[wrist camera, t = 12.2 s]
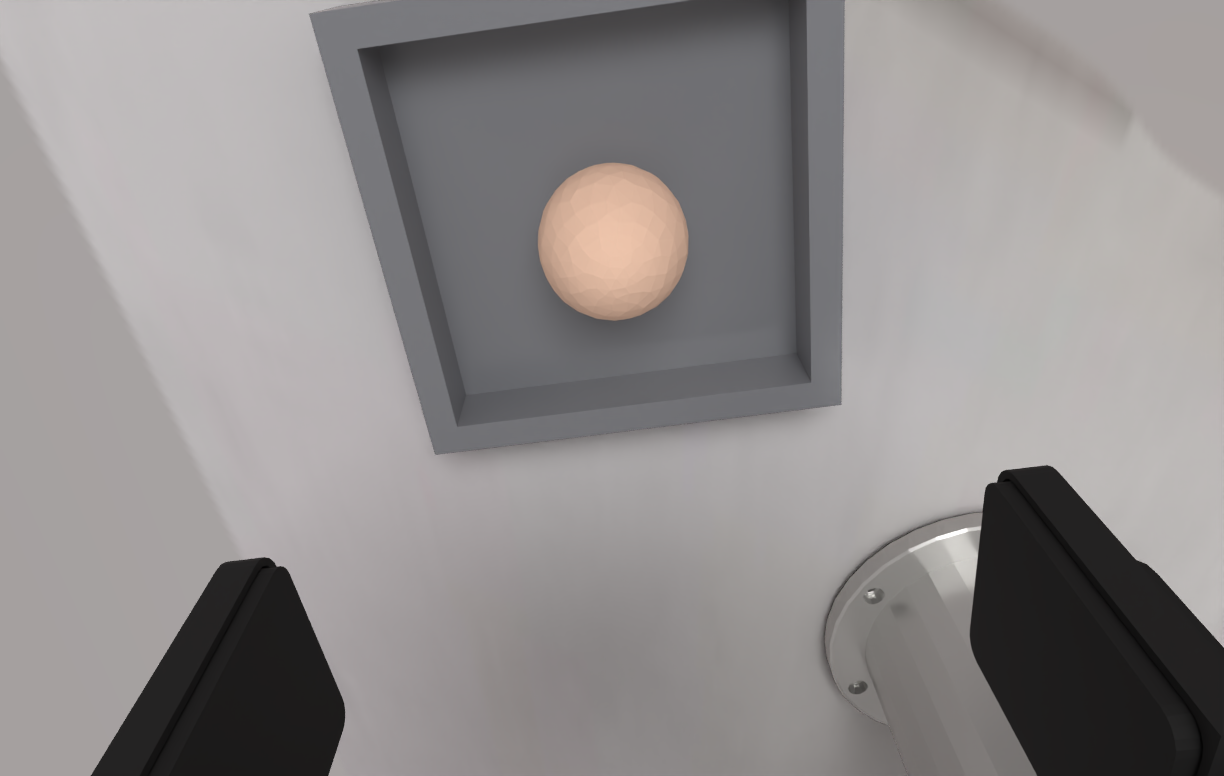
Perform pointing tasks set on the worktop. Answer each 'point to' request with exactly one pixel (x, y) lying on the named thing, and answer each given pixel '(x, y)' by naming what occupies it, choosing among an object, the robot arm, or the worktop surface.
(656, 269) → the egg
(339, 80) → the dish
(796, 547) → the worktop surface
